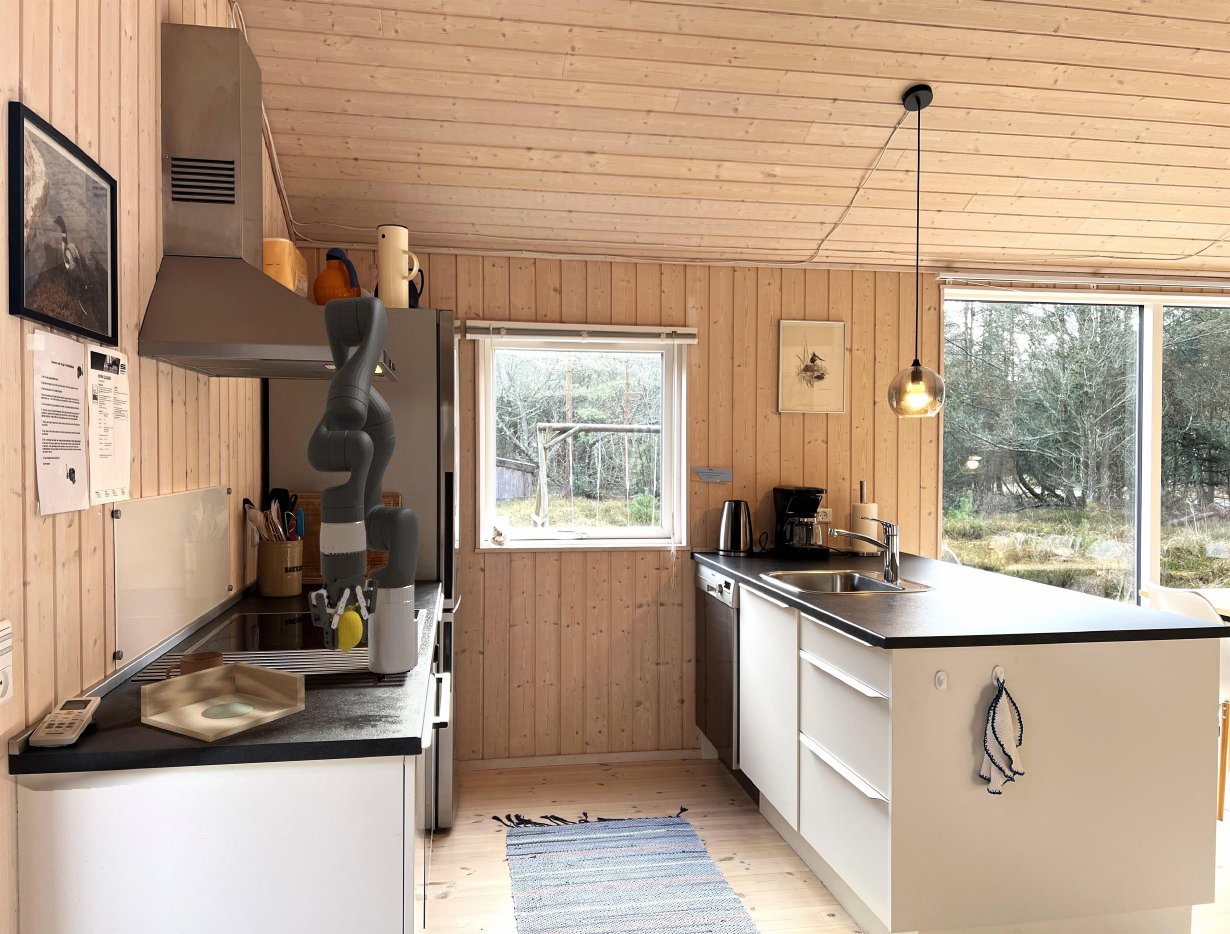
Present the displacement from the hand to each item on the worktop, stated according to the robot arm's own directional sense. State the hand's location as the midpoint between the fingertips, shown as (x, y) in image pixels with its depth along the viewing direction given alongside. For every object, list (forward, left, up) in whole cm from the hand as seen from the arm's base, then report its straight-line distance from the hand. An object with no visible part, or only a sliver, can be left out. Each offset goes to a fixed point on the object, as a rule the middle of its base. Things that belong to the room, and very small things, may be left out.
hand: (345, 644), depth 143 cm
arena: (+12, -16, -12) cm, 23 cm away
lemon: (0, 0, -2) cm, 2 cm away
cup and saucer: (+3, -34, -12) cm, 37 cm away
